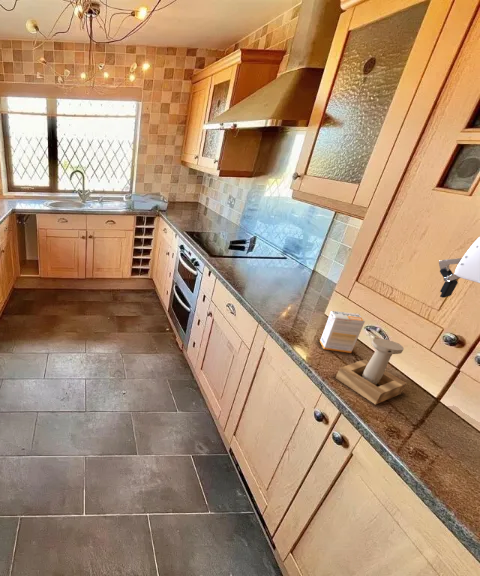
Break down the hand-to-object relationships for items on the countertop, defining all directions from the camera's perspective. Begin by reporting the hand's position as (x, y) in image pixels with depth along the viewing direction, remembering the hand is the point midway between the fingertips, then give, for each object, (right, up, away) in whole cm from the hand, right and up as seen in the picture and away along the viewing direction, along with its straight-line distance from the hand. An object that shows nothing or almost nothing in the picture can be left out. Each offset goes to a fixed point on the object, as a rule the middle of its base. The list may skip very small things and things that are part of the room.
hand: (471, 305), depth 72 cm
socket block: (-9, -25, +18) cm, 32 cm away
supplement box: (-6, -17, +34) cm, 39 cm away
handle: (-9, -25, +18) cm, 32 cm away
